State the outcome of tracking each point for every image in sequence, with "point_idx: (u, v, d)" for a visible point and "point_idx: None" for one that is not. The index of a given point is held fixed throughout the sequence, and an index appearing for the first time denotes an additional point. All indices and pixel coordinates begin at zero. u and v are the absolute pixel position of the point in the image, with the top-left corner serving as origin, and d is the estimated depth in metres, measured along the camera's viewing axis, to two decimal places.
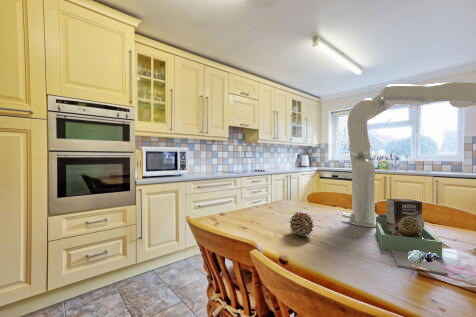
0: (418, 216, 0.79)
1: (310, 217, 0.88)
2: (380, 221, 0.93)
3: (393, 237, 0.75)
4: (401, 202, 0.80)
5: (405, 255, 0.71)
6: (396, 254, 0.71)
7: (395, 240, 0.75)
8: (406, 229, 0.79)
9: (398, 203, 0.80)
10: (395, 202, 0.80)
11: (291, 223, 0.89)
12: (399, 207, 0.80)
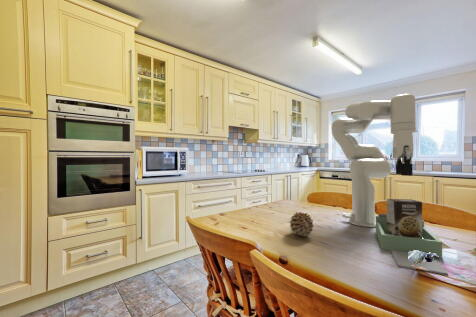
0: (418, 216, 0.79)
1: (310, 217, 0.88)
2: (380, 221, 0.93)
3: (393, 237, 0.75)
4: (401, 202, 0.80)
5: (405, 255, 0.71)
6: (396, 254, 0.71)
7: (395, 240, 0.75)
8: (406, 229, 0.79)
9: (398, 203, 0.80)
10: (395, 202, 0.80)
11: (291, 223, 0.89)
12: (399, 207, 0.80)
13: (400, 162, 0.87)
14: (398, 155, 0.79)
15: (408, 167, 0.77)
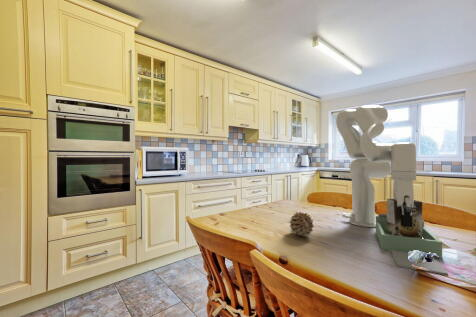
0: (418, 216, 0.79)
1: (310, 217, 0.88)
2: (380, 221, 0.93)
3: (393, 237, 0.75)
4: None
5: (405, 255, 0.71)
6: (396, 254, 0.71)
7: (395, 240, 0.75)
8: (406, 229, 0.79)
9: None
10: (395, 202, 0.80)
11: (291, 223, 0.89)
12: (399, 207, 0.80)
13: None
14: (398, 204, 0.79)
15: (408, 219, 0.77)
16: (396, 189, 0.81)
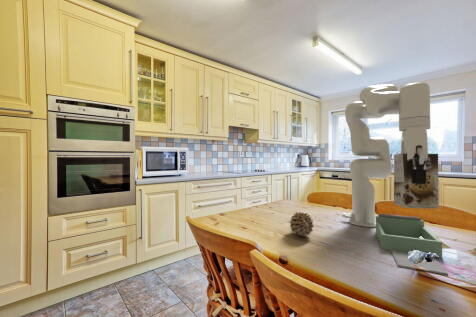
0: (433, 171, 0.64)
1: (310, 217, 0.88)
2: (380, 221, 0.93)
3: (393, 237, 0.75)
4: None
5: (405, 255, 0.71)
6: (396, 254, 0.71)
7: (395, 240, 0.75)
8: (419, 187, 0.65)
9: None
10: (405, 155, 0.66)
11: (291, 223, 0.89)
12: (410, 160, 0.65)
13: None
14: (409, 157, 0.64)
15: (421, 174, 0.63)
16: (406, 140, 0.66)
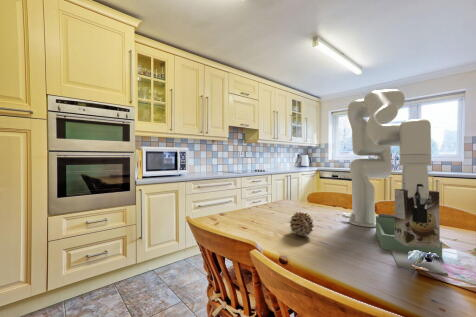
0: (434, 209, 0.64)
1: (310, 217, 0.88)
2: (380, 221, 0.93)
3: (393, 237, 0.75)
4: None
5: (405, 255, 0.71)
6: (396, 254, 0.71)
7: (395, 240, 0.75)
8: (420, 225, 0.64)
9: None
10: (406, 192, 0.65)
11: (291, 223, 0.89)
12: (411, 198, 0.64)
13: None
14: (410, 195, 0.64)
15: (422, 213, 0.62)
16: (406, 177, 0.66)
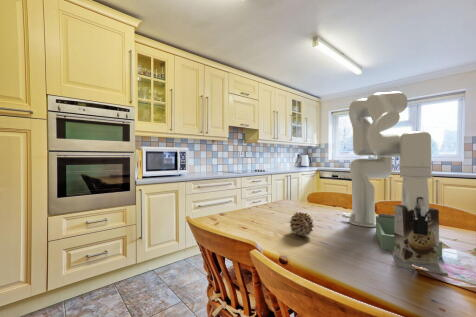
0: (433, 227, 0.64)
1: (310, 217, 0.88)
2: (380, 221, 0.93)
3: (393, 237, 0.75)
4: (412, 210, 0.65)
5: None
6: None
7: None
8: (418, 243, 0.64)
9: (408, 211, 0.65)
10: (404, 209, 0.66)
11: (291, 223, 0.89)
12: (409, 215, 0.65)
13: None
14: (410, 208, 0.64)
15: (422, 225, 0.62)
16: (407, 189, 0.66)
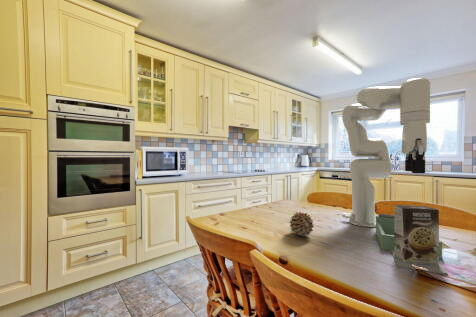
0: (433, 227, 0.64)
1: (310, 217, 0.88)
2: (380, 221, 0.93)
3: (393, 237, 0.75)
4: (412, 210, 0.65)
5: None
6: None
7: None
8: (418, 243, 0.64)
9: (408, 211, 0.65)
10: (404, 209, 0.66)
11: (291, 223, 0.89)
12: (409, 215, 0.65)
13: (410, 157, 0.76)
14: (409, 150, 0.68)
15: (420, 164, 0.66)
16: (406, 133, 0.70)
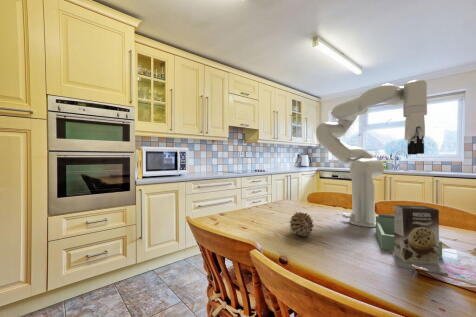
0: (433, 227, 0.64)
1: (310, 217, 0.88)
2: (380, 221, 0.93)
3: (393, 237, 0.75)
4: (412, 210, 0.65)
5: None
6: None
7: None
8: (418, 243, 0.64)
9: (408, 211, 0.65)
10: (404, 209, 0.66)
11: (291, 223, 0.89)
12: (409, 215, 0.65)
13: (411, 143, 0.94)
14: (411, 135, 0.86)
15: (420, 146, 0.84)
16: (408, 123, 0.88)
